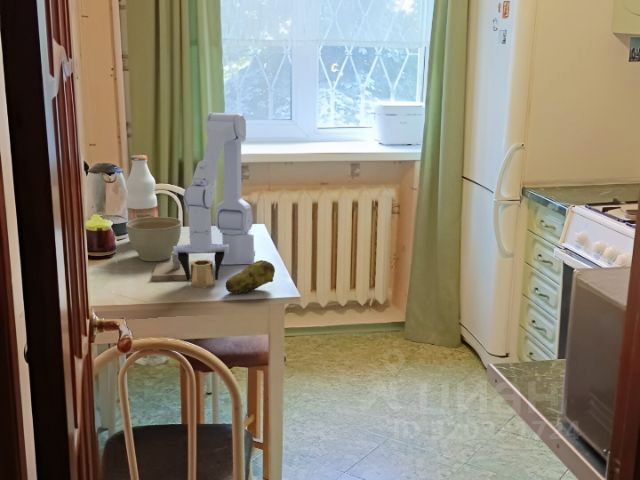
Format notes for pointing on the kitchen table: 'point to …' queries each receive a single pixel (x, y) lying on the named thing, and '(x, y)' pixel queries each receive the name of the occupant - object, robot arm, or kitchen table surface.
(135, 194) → the white milk bottle
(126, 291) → the kitchen table surface
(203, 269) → the octagonal wooden tube
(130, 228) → the planter bowl
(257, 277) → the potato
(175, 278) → the pin block
